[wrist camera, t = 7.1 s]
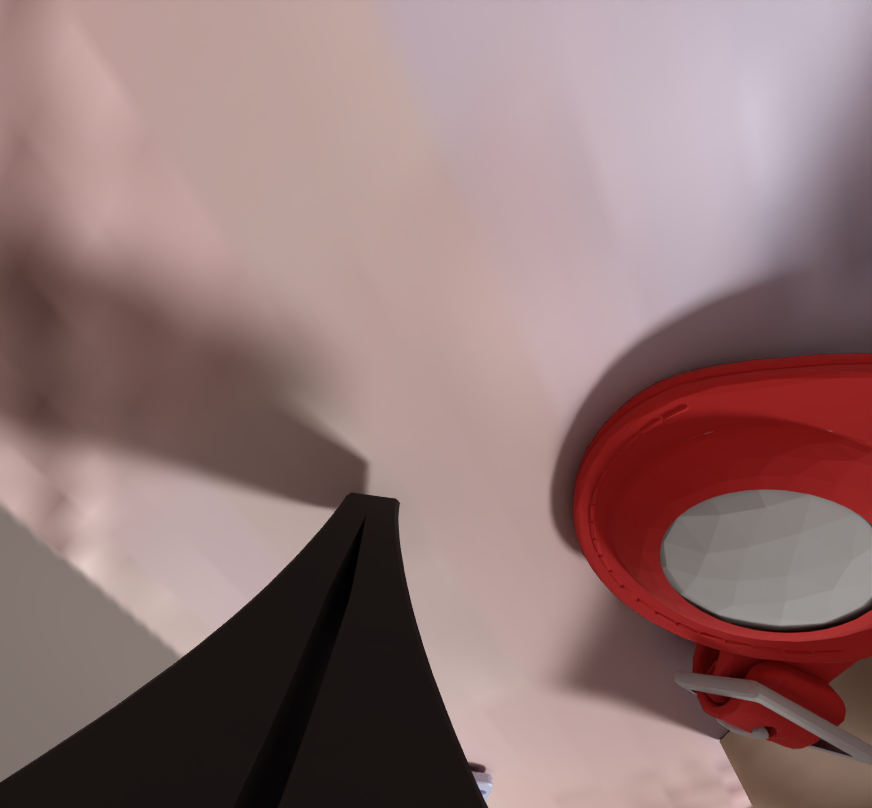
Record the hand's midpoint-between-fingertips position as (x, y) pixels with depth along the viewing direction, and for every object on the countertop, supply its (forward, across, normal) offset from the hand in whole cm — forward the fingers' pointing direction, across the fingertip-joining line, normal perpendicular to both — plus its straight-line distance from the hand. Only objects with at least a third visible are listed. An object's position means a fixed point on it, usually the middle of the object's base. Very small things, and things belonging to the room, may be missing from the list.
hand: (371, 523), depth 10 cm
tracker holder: (+2, -10, -1) cm, 10 cm away
